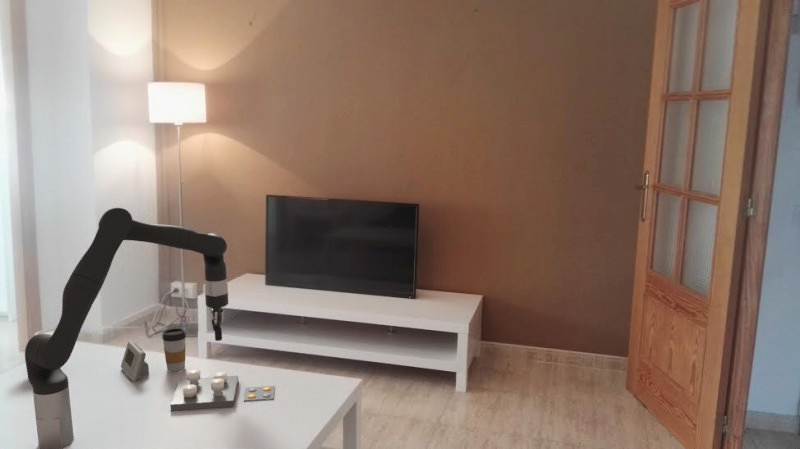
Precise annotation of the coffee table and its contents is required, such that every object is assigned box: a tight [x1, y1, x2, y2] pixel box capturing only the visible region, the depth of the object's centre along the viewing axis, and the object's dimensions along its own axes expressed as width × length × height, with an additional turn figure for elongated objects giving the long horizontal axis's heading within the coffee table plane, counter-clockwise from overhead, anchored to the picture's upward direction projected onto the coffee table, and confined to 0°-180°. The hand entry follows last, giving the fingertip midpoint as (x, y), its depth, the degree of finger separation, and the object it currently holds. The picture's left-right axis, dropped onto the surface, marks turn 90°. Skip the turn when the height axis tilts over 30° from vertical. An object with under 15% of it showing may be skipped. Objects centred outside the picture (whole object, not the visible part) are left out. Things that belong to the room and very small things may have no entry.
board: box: [169, 375, 239, 412], centre depth 224 cm, size 20×20×2 cm
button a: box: [183, 385, 197, 398], centre depth 219 cm, size 4×4×5 cm
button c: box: [186, 369, 201, 386], centre depth 227 cm, size 4×4×5 cm
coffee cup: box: [162, 327, 187, 374], centre depth 245 cm, size 8×8×15 cm
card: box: [243, 385, 275, 402], centre depth 226 cm, size 10×10×1 cm
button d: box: [213, 371, 228, 385], centre depth 229 cm, size 4×4×5 cm
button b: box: [211, 379, 224, 396], centre depth 220 cm, size 4×4×5 cm
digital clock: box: [120, 340, 150, 382], centre depth 241 cm, size 16×9×11 cm, turn 26°
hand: (218, 339), depth 226 cm, fingers closed
